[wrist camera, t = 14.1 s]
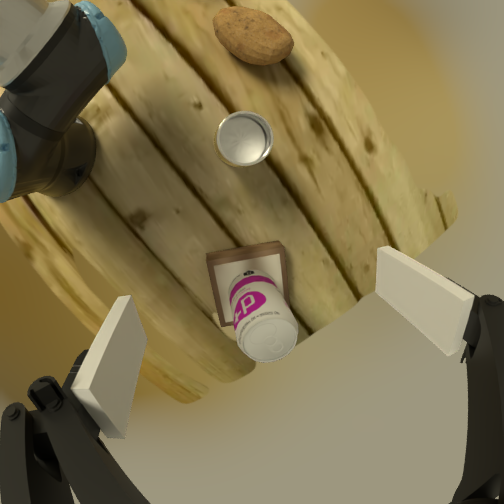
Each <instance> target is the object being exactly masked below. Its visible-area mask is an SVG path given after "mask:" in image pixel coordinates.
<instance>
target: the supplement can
mask: <svg viewBox="0 0 504 504" xmlns="http://www.w3.org/2000/svg"><path fill="white" fill-rule="evenodd" d="M228 295H229V301H230V307H231V312H232V318H233V323H234V329H235V334H236V339H237V344H238V346H239V348H240V349H241V350H242V352H243V353H245V354H246V355H247V356H248V357H249V358H251V359H253V360H255V361H258V362H263V363H265V362H274V361H277V360H280V359H282V358H283V357H285V356H286V355H288V354H289V353H290V352H291V351H292V349H293V348H294V347H295V344H296V341H297V335H298V323H297V321H296V320H295V318H294V316H293V314H292V312H291V310H290V309H289V307H288V305H287V303H286V302H285V300H284V298H283V296H282V294H281V293H280V291H279V289H278V287H277V285H276V284H275V282H274V280H273V278H272V277H271V276H270V275H269V274H267V273H266V272H263V271H260V270H248V271H245V272H242V273H240V274H239V275H238V276H236V277H235V278H234V279H233V281H232V282H231V284H230V286H229V291H228Z"/></svg>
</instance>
